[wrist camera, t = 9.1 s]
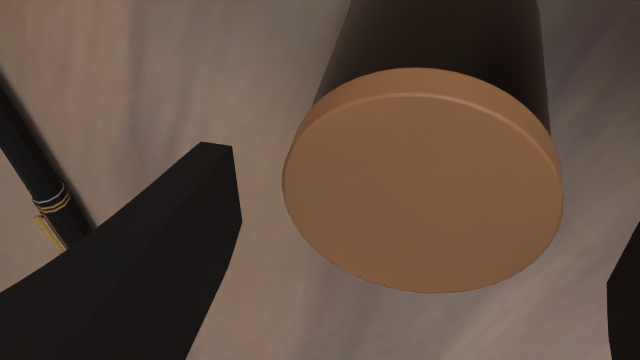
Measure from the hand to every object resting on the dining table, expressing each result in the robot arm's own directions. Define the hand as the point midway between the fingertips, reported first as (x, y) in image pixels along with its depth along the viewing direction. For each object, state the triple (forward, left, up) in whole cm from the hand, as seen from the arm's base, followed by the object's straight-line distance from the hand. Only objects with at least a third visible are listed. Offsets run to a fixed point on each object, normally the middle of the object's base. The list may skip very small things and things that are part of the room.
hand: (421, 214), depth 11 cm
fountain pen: (+9, +12, -7) cm, 16 cm away
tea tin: (0, 0, -6) cm, 6 cm away
